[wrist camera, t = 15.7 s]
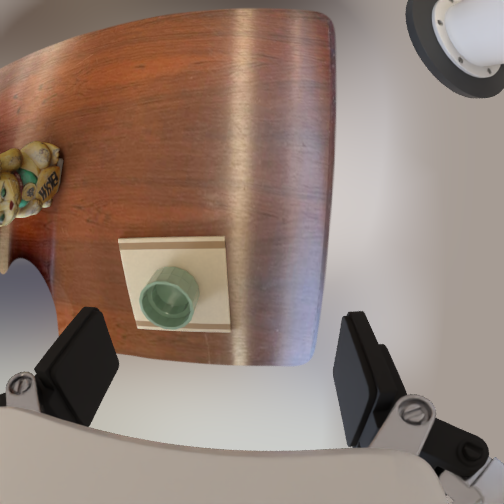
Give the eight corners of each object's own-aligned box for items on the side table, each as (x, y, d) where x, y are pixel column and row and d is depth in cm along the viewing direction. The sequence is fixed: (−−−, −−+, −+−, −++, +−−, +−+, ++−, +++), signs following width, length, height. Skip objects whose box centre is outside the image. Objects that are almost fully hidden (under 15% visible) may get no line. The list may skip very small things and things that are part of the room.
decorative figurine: (64, 211, 36) (-9, 253, 22) (24, 200, 35) (-47, 235, 21) (71, 141, 32) (-12, 157, 18) (29, 135, 31) (-50, 151, 18)
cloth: (225, 235, 36) (224, 236, 36) (231, 330, 42) (230, 332, 41) (119, 238, 37) (117, 239, 37) (138, 327, 42) (137, 328, 42)
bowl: (197, 264, 38) (189, 281, 33) (202, 310, 40) (196, 330, 36) (146, 264, 38) (134, 280, 34) (155, 309, 40) (145, 328, 36)
